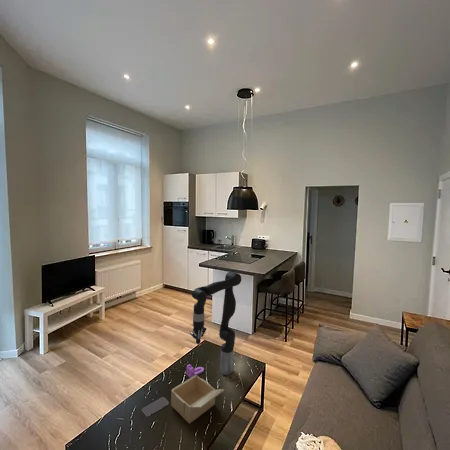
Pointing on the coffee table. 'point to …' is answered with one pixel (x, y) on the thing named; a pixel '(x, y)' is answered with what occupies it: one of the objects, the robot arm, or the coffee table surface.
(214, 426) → the coffee table surface
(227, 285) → the robot arm
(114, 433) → the coffee table surface
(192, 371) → the bracket
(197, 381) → the carton
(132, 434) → the coffee table surface
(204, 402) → the flap
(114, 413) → the coffee table surface
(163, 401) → the smartphone
